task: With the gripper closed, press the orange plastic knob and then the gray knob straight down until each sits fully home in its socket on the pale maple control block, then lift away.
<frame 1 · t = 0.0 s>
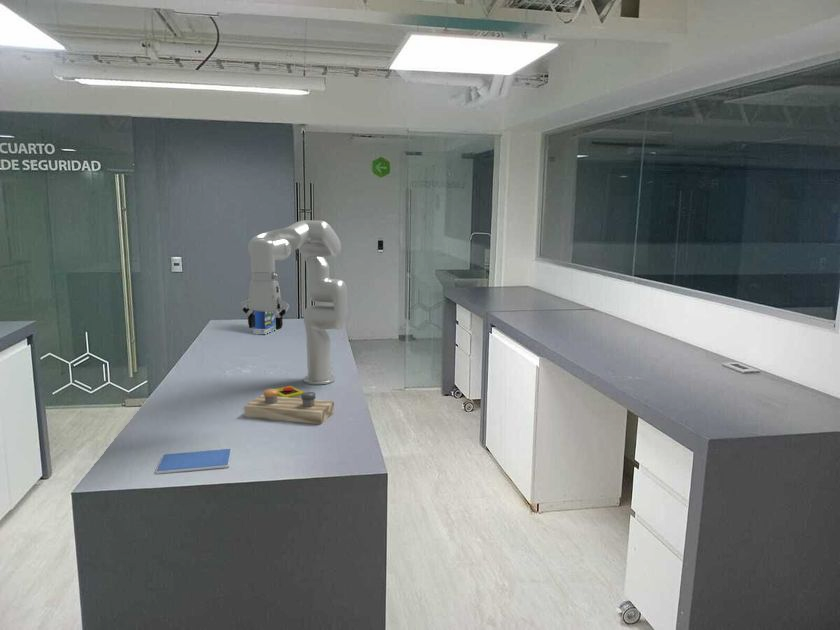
hand: (265, 328, 203), 31 cm above the countertop, fingers open, 9 cm apart
control block: (290, 414, 211), on the countertop
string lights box: (264, 332, 345), on the countertop
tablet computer: (195, 464, 172), on the countertop
orange knob: (271, 398, 212), point 5 cm above the countertop, slide at 0.0 cm
emergency button: (287, 399, 230), on the countertop
gray knob: (308, 401, 209), point 5 cm above the countertop, slide at 0.0 cm
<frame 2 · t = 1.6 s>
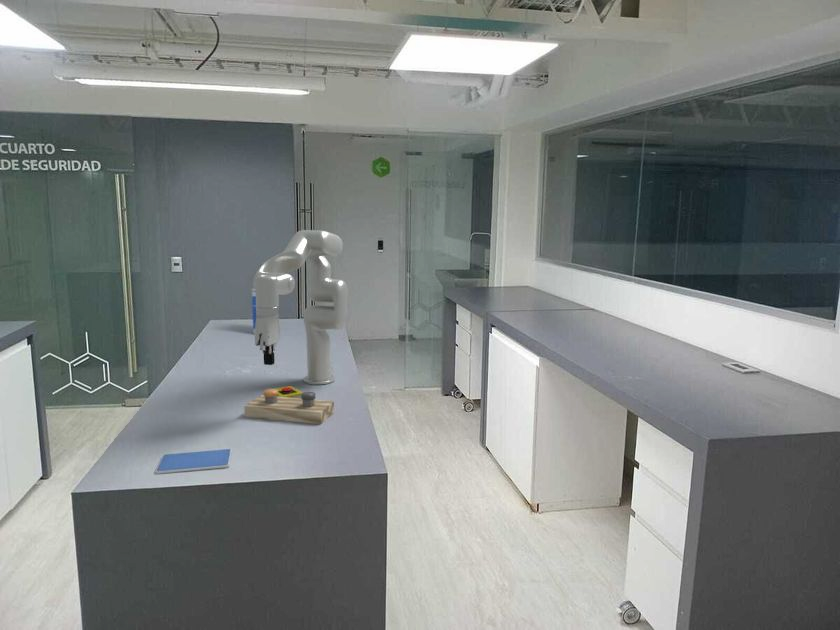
hand: (269, 364, 209), 18 cm above the countertop, fingers closed
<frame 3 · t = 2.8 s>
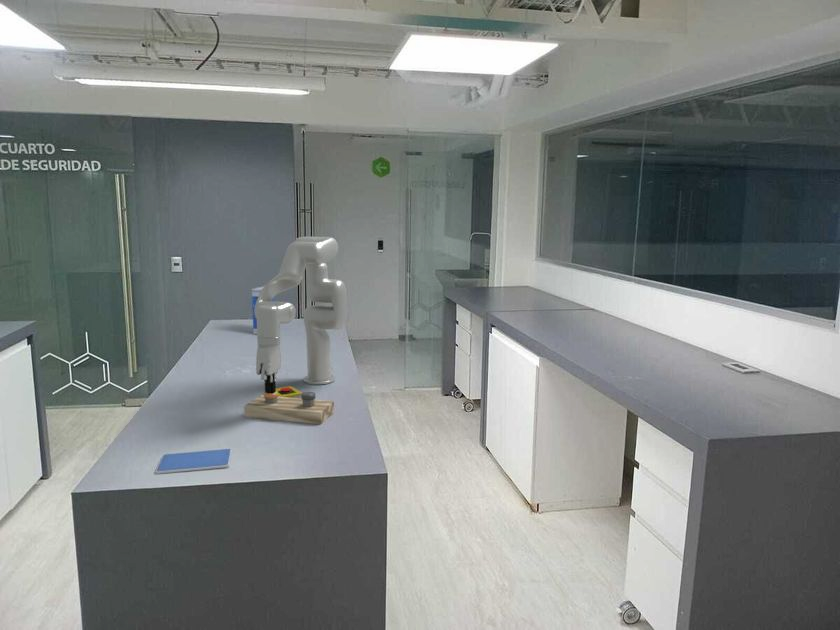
hand: (270, 392, 211), 8 cm above the countertop, fingers closed
orange knob: (271, 399, 212), point 5 cm above the countertop, slide at 0.5 cm, touching gripper
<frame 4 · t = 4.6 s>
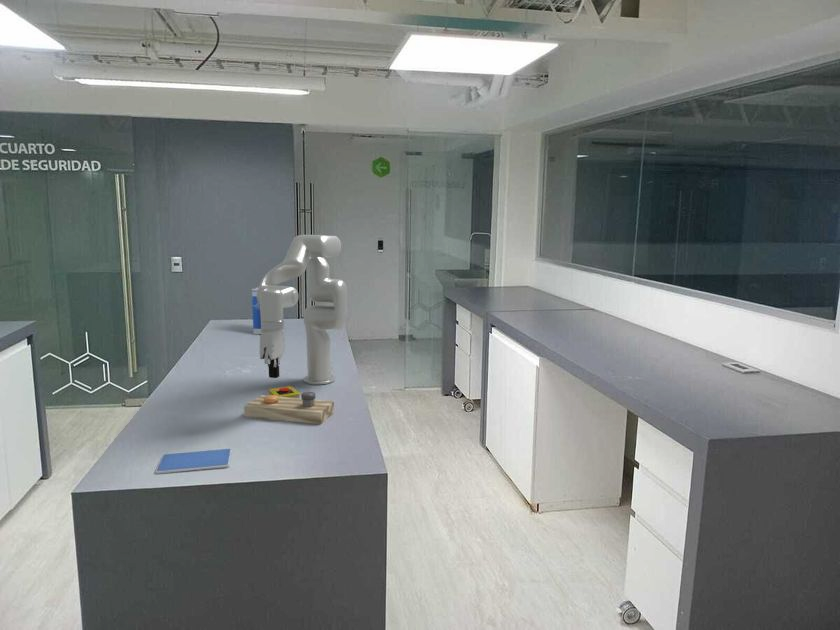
hand: (274, 377, 210), 13 cm above the countertop, fingers closed
orange knob: (271, 404, 212), point 3 cm above the countertop, slide at 2.3 cm
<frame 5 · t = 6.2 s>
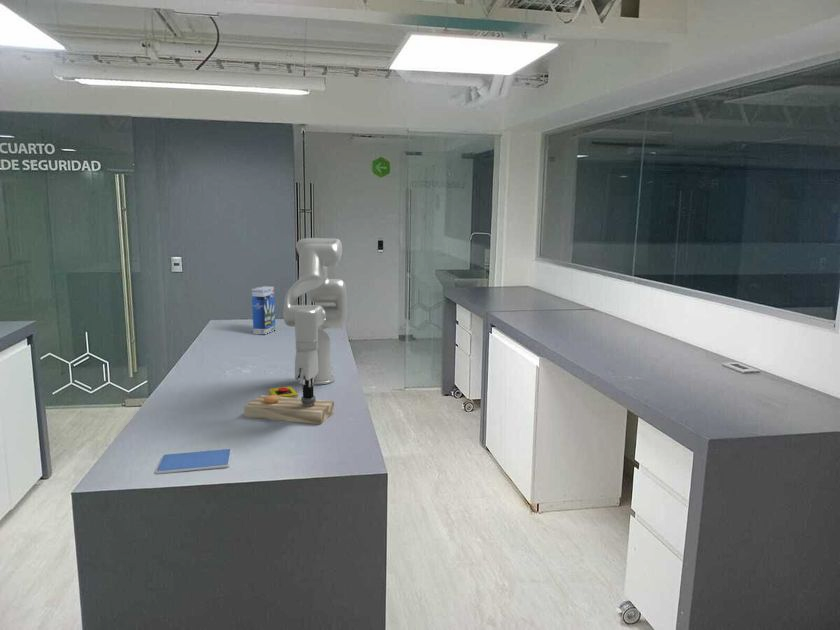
hand: (308, 397, 208), 7 cm above the countertop, fingers closed
gray knob: (308, 405, 209), point 4 cm above the countertop, slide at 1.2 cm, touching gripper
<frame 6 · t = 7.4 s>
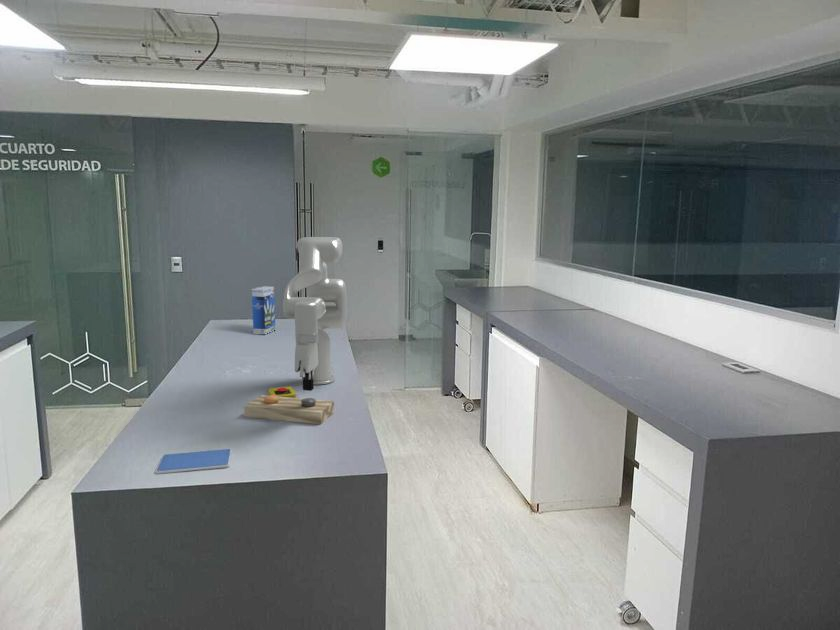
hand: (308, 389, 209), 9 cm above the countertop, fingers closed
gray knob: (308, 407, 209), point 3 cm above the countertop, slide at 2.3 cm
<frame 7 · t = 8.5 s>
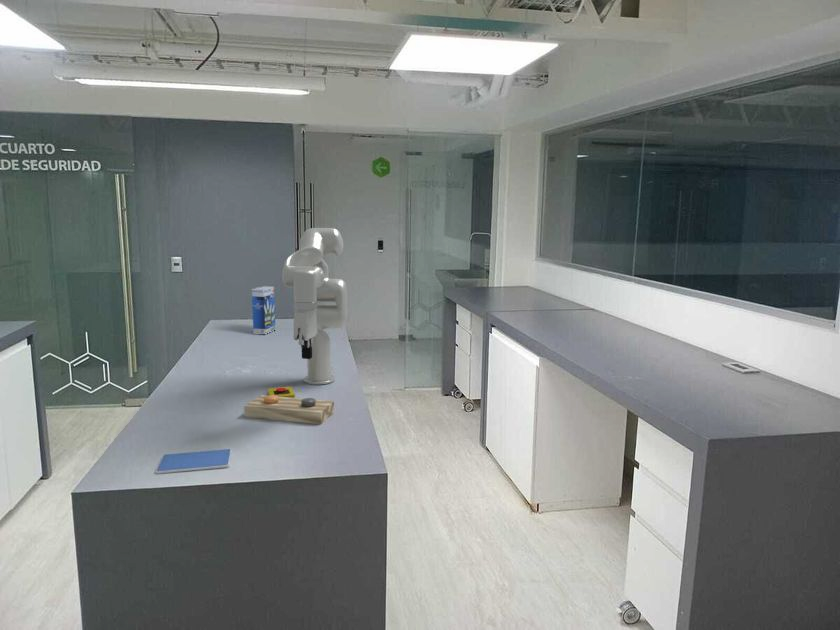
hand: (307, 358, 210), 20 cm above the countertop, fingers closed
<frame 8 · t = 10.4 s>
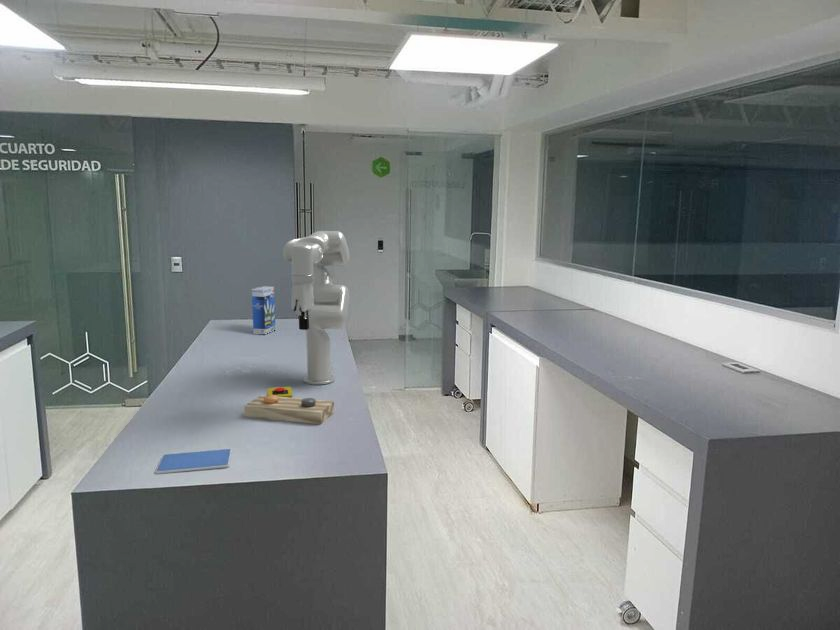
hand: (304, 329, 222), 27 cm above the countertop, fingers closed
at the end: orange knob slide at 2.3 cm; gray knob slide at 2.3 cm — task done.
